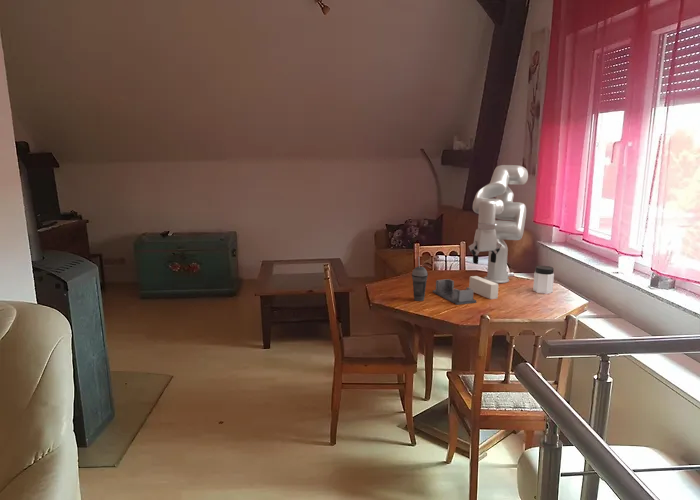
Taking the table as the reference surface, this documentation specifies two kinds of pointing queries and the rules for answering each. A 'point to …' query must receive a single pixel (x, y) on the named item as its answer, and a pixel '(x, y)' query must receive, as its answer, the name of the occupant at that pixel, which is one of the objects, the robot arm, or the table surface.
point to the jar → (543, 279)
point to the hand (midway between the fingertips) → (484, 262)
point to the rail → (484, 287)
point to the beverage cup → (419, 282)
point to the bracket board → (453, 292)
